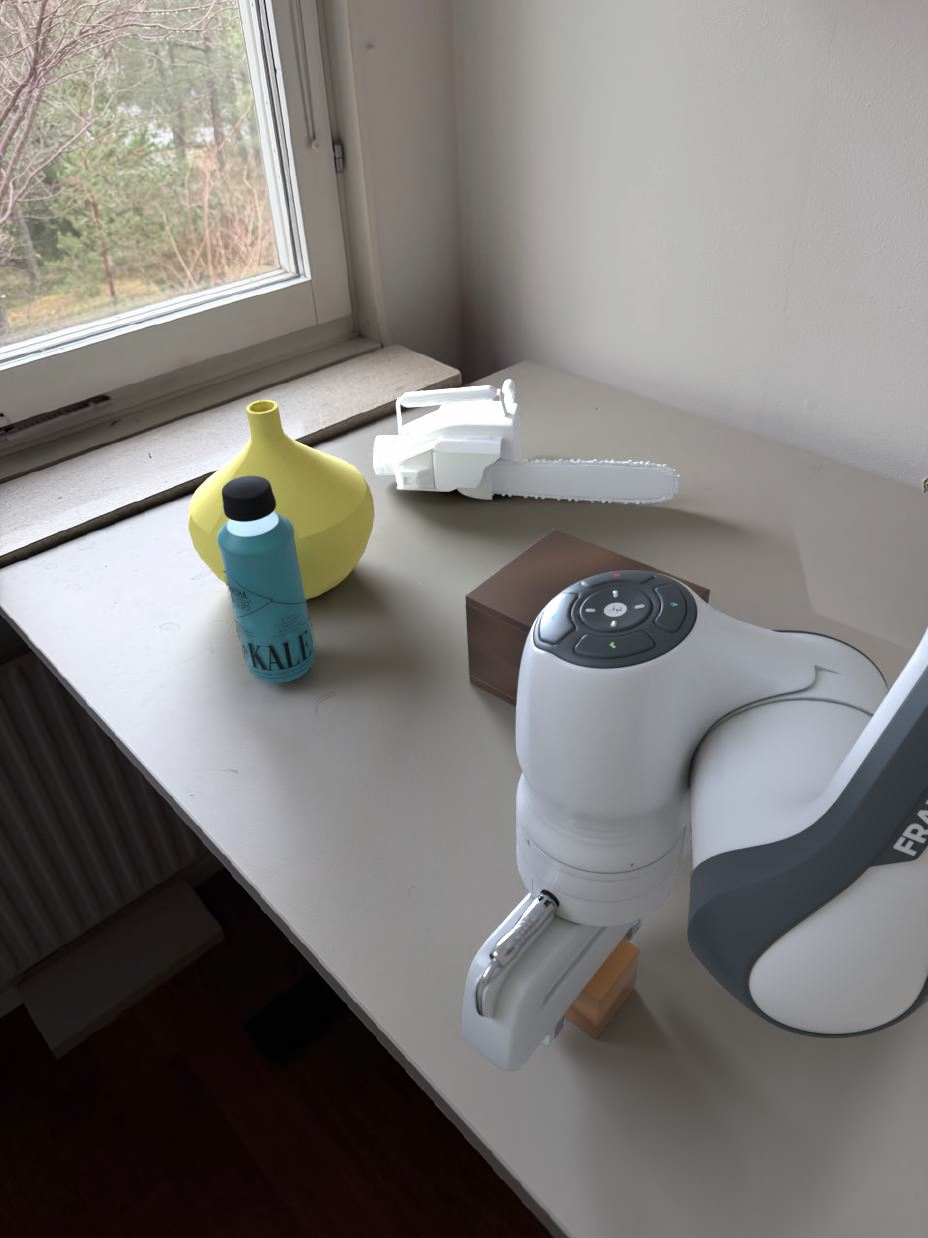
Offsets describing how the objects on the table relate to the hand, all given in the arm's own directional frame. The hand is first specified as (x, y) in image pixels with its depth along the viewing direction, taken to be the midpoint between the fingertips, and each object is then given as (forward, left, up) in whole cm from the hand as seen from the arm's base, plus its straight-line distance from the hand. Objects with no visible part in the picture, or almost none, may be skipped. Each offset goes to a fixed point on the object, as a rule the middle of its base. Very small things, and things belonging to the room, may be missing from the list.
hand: (586, 977), depth 59 cm
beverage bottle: (+40, +4, -2) cm, 40 cm away
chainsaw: (+56, -34, -2) cm, 66 cm away
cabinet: (+24, -18, -2) cm, 30 cm away
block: (0, 0, -2) cm, 2 cm away
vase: (+54, -3, -2) cm, 54 cm away
